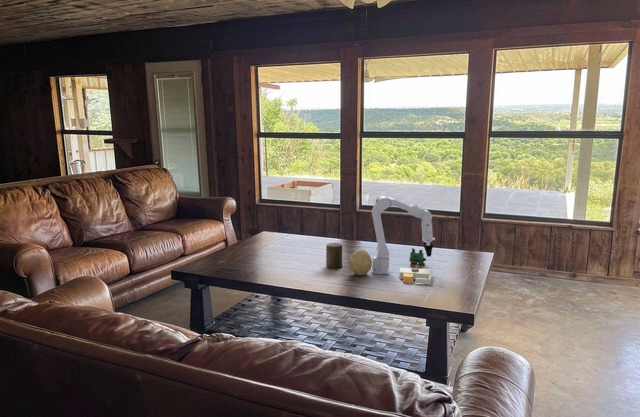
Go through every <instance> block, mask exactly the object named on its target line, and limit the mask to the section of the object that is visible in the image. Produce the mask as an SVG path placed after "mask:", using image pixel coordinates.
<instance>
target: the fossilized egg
mask: <svg viewBox="0 0 640 417" xmlns="http://www.w3.org/2000/svg"><path fill="white" fill-rule="evenodd" d="M348 262H349V268H350V271H352V273H353V274H355V275H357V276H364V275H367V274H368V273H369V272H370V270H371V269H372V266H373V259H372V258H371V256H370V254H369V252H368V251H367V250H365V249H363V248H358V249H356V250H355V251H353V252H352V253H351V255H350V258H349V261H348Z"/></svg>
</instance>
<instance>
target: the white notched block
mask: <svg viewBox="0 0 640 417" xmlns="http://www.w3.org/2000/svg"><path fill="white" fill-rule="evenodd" d="M404 273H407V274H413V280H415V283H421V284H420V285H425V284H431V285H432V277H431V269H430V268H417V267H416V268H414V267H413V268H412V267H399V279H403V274H404ZM422 283H423V284H422Z"/></svg>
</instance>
